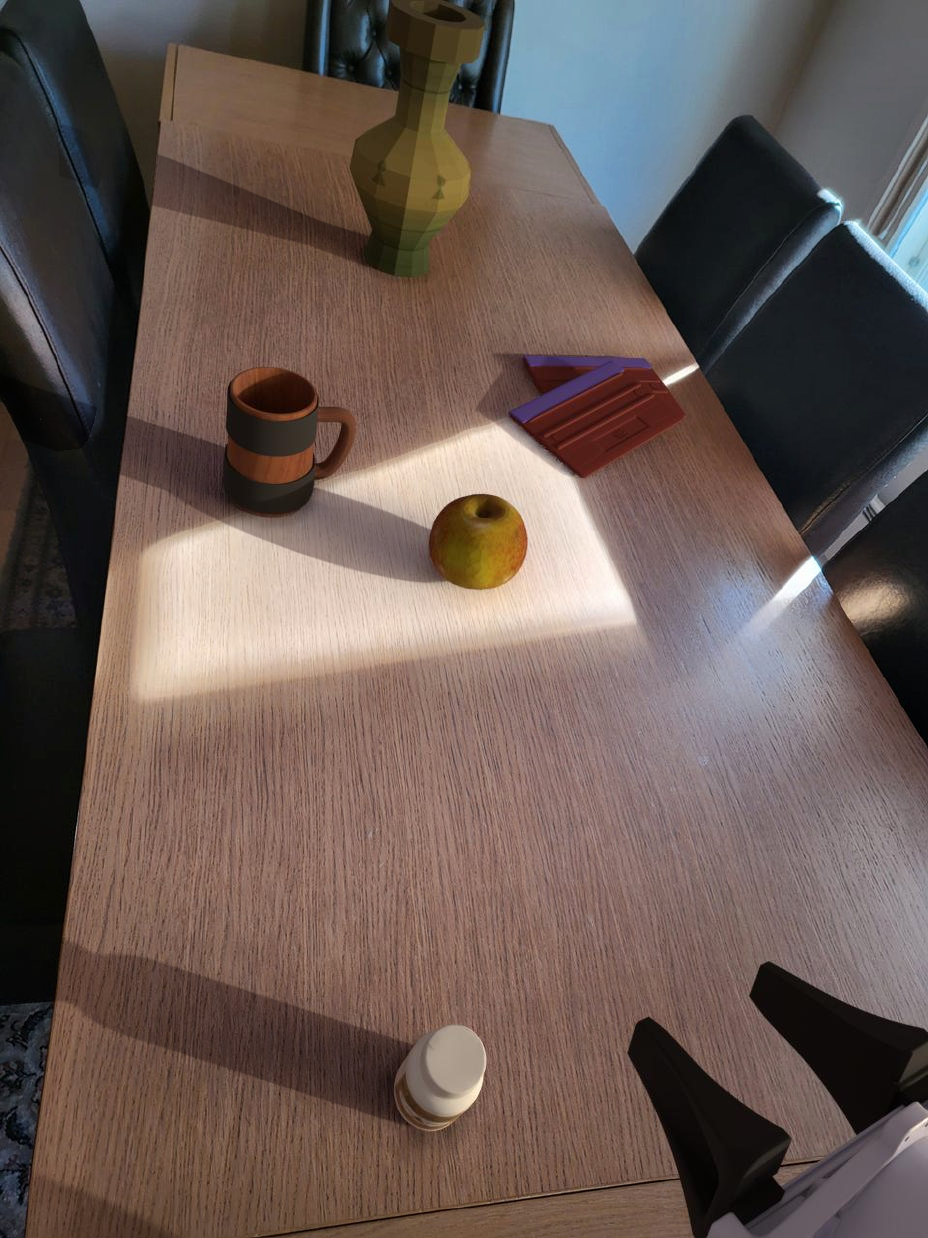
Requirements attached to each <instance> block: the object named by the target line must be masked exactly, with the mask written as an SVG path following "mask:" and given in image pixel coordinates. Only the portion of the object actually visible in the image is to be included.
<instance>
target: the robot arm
mask: <svg viewBox="0 0 928 1238" xmlns="http://www.w3.org/2000/svg"><path fill="white" fill-rule="evenodd" d="M748 997H749V998H750V1000H751V1002H752V1003H753V1004H754V1006H755V1007H756V1008H757V1010H758V1011H759V1012H760V1014H761V1015H762V1016H763V1017H764V1018H765V1020H766V1021H767V1022H768V1024H769V1025H771V1026H772V1027H773V1028H774V1030H775V1031H776V1032H777V1033H778V1034H779V1035H780V1036H781V1037H782V1038H783V1039H784V1041H786V1042H787V1043H788V1044H789V1045H790V1047H791V1048H792V1049H793V1050H794V1051H795V1052H796V1053H797V1054H798V1055H799V1056H800V1057H801V1059H803V1061H804V1062H805V1063H806V1064H807V1065H808V1067H809V1069H810V1070H812V1072H813V1073H814V1074H815V1076H816V1077H817V1078H818V1079H819V1081H820V1083H821V1084H822V1085H823V1086H824V1088H825V1089H826V1091H827V1092H828V1093H829V1094H830V1096H831V1097H832V1099H833V1101H834V1102H835V1104H836V1105H837V1107H838V1108H839V1109H840V1111H841V1112H842V1114H843V1116H844V1117H845V1119H846V1121H847V1122H848V1124H849V1126H850V1127H851V1129H852V1130H853V1132H854V1134H855V1136H853V1137H852V1138H851V1139H849V1140H848V1141H845V1142H844V1143H843V1144H842V1145H840V1146H839V1147H837V1148H836V1149H834V1150H833V1151H832V1152H830V1153H828V1154H827V1155H825V1156H824V1157H822V1158H821V1159H819V1160H818V1161H816V1162H815V1163H814V1164H812V1165H811V1166H809V1167H808V1168H806V1169H804V1170H803V1171H801V1172H800V1173H799V1174H797V1175H796V1176H794V1177H792V1178H791V1179H790V1180H788V1181H787V1182H785V1183H784V1184H782V1185H780V1183H779V1182H778V1181H777V1180H776V1178H774V1176H776V1175H777V1174H778V1173H779V1171H780V1168H781V1166H782V1164H783V1161H784V1160H785V1157H786V1155H787V1152H788V1150H789V1148H790V1145H791V1144H792V1140H793V1138H792V1136H791V1135H790V1134H789V1133H788V1132H787V1131H786V1130H785V1129H784V1128H783V1127H781V1126H779V1125H778V1124H776V1123H773V1121H770V1120H769V1119H768V1118H766V1117H764V1116H762V1115H760V1114H759V1113H757V1112H756V1111H755V1110H753V1109H752V1108H751V1107H749V1106H748V1105H746V1104H745V1103H743V1102H742V1101H741V1100H739V1099H738V1098H737V1097H735V1096H734V1095H733V1094H732V1093H731V1092H729V1091H728V1090H727V1089H725V1088H724V1087H723V1086H722V1085H721V1084H719V1082H718V1081H717V1080H715V1079H714V1078H713V1077H711V1076H710V1075H709V1074H708V1073H707V1071H705V1070H704V1069H703V1068H702V1066H700V1064H698V1062H697V1061H696V1060H695V1059H694V1058H693V1057H692V1056H691V1055H690V1054H689V1053H688V1051H686V1050H685V1048H684V1047H683V1046H682V1045H681V1044H680V1043H679V1042H678V1041H677V1040H676V1038H675V1037H674V1036H673V1035H672V1034H671V1033H670V1032H669V1031H668V1030H667V1029H666V1028H664V1027H663V1025H661V1024H660V1023H658V1022H657V1021H656V1020H654V1019H653V1018H651V1016H647V1017H644V1018H641V1019H640V1020H638V1021H637V1022H636V1023H635V1025H634V1029H633V1032H632V1035H631V1039H630V1042H629V1045H628V1049H627V1056H628V1058H629V1060H630V1061H631V1064H632V1065H633V1068H634V1069H635V1071H636V1073H637V1075H638V1077H639V1079H640V1081H641V1083H642V1085H643V1087H644V1089H645V1091H646V1093H647V1095H648V1097H649V1100H650V1101H651V1104H652V1107H653V1108H654V1111H655V1113H656V1116H657V1117H658V1120H659V1123H660V1124H661V1127H662V1130H663V1132H664V1135H665V1138H666V1140H667V1143H668V1146H669V1149H670V1151H671V1154H672V1159H673V1161H674V1164H675V1167H676V1170H677V1174H678V1178H679V1181H680V1185H681V1189H682V1192H683V1196H684V1201H685V1205H686V1209H687V1213H688V1218H689V1223H690V1228H691V1233H692V1236H693V1238H928V1030H927V1029H925V1028H924V1027H920V1026H915V1025H911V1024H907V1023H903V1022H899V1021H896V1020H892V1019H889V1018H886V1017H884V1016H883V1017H882V1016H880V1015H878V1014H874V1013H872V1012H869V1011H866V1010H864V1009H861V1008H859V1007H857V1006H854V1005H852V1004H850V1003H848V1002H845V1001H843V1000H841V999H839V998H837V997H835V996H834V995H831V994H829V993H827V992H825V991H824V990H822V989H820V988H818V987H816V986H814V985H813V984H811V983H809V982H808V981H805V980H804V979H803V978H801V977H798V976H797V975H795V974H793V973H792V972H790V971H788V970H786V969H784V967H781V966H779V965H777V964H776V963H773V962H772V961H770V960H767V961H765V962H764V963H761V964H760V965H759V967H758V970H757V973H756V976H755V978H754V981H753V984H752V987H751V989H750V991H749V995H748Z"/></svg>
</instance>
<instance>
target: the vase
mask: <svg viewBox="0 0 928 1238" xmlns="http://www.w3.org/2000/svg"><path fill="white" fill-rule="evenodd" d="M485 30H486V23H485V22H484V20H483V19H482V17H480V15H478V14H476V13H474V12H472V11H470V10H469V9H467V8H465V7H463V6H461V5H458V4H455V3H453V2H449V1H446V0H388V6H387V14H386V23H385V30H384V33H385V36H386V37H387V39H388V41H389V42H390V43H393V45H395V46H397V47H398V52H399V66H400V67H399V68H400V82H399V88H398V95H397V102H396V108H395V113H394V115H393V116H392V117H389V118H388V119H386V120H384V121H382V122H380V123H378V124H377V125H375V126H373V127H371V128H369V129H367V130H366V131H364V132H363V133H361V135H360V136H358V137H357V138H356V139H355V140H354V146H353V148H352V153H351V158H350V163H349V172H350V174H351V177H352V180H353V183H354V185H355V188H356V190H357V193H358V197H359V198H360V199H359V200H360V201H361V204H362V207H363V210H364V213H365V215H366V218H367V220H368V223H369V225H370V228H371V232H370V234H369V237H368V240H367V241H366V245H365V247H364V250H363V253H362V254H363V256H364V259H365V261H366V263H368V264H369V265H370V266H372V267H373V268H375V269H376V270H377V271H379V272H382V273H384V274H385V273H386V274H388V275H391V276H393V277H402V278H403V277H404V278H416V277H418V276H422V275H425V274H426V273H427V271H428V270H429V269H430V250H429V249H430V247H429V245H430V244H429V243H431V241H432V240H433V239H434V238H435V237H436V235H438V233H439V232H440V231H442V229H443V228H444V227H445V225H446V224H448V222H449V221H450V220H451V219H452V217H454V215H455V214H456V213H457V212H458V211H459V209H460V208H461V207H462V206H463V204H464V203H465V202H466V201H467V199H468V198H469V193H470V185H471V177H472V170H473V169H472V167H471V164H470V163H469V161H468V159H467V158H466V155H464V153H463V152H462V150H461V149H460V147H458V145H457V143H456V142H455V141H454V139H453V138H452V137H451V136H450V134H449V133H448V132H447V130H446V129H445V123H446V117H447V112H448V108H449V107H448V106H449V101H450V95H451V90H452V87H453V86H454V83H455V81H456V78H457V76H458V74H459V72H460V69H461V67H462V65H463V64H473V63H474V62H476V61H477V60H478V59H479V58H480V54H481V49H482V44H483V39H484V34H485Z"/></svg>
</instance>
